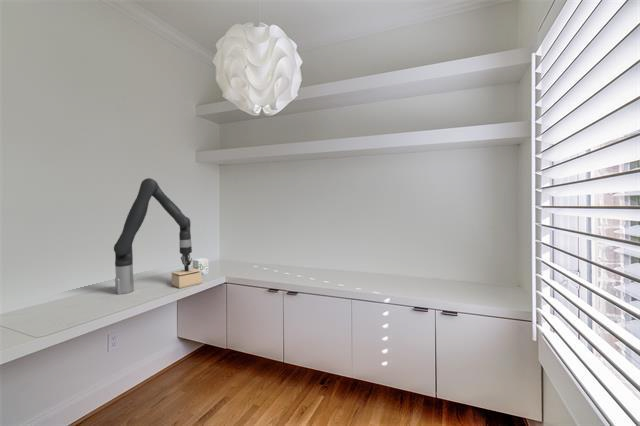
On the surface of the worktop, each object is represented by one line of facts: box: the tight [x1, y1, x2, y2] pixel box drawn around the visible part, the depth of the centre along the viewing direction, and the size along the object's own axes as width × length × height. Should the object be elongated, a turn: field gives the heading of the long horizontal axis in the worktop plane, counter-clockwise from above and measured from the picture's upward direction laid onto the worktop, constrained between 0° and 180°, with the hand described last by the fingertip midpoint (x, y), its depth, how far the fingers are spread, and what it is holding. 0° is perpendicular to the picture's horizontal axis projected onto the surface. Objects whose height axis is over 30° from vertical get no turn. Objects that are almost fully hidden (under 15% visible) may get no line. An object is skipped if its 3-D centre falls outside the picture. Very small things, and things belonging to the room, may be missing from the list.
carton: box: [171, 271, 203, 290], centre depth 201 cm, size 15×13×8 cm
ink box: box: [192, 257, 209, 276], centre depth 229 cm, size 8×8×12 cm
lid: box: [171, 267, 201, 275], centre depth 201 cm, size 15×13×1 cm
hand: (186, 271), depth 201 cm, fingers closed
